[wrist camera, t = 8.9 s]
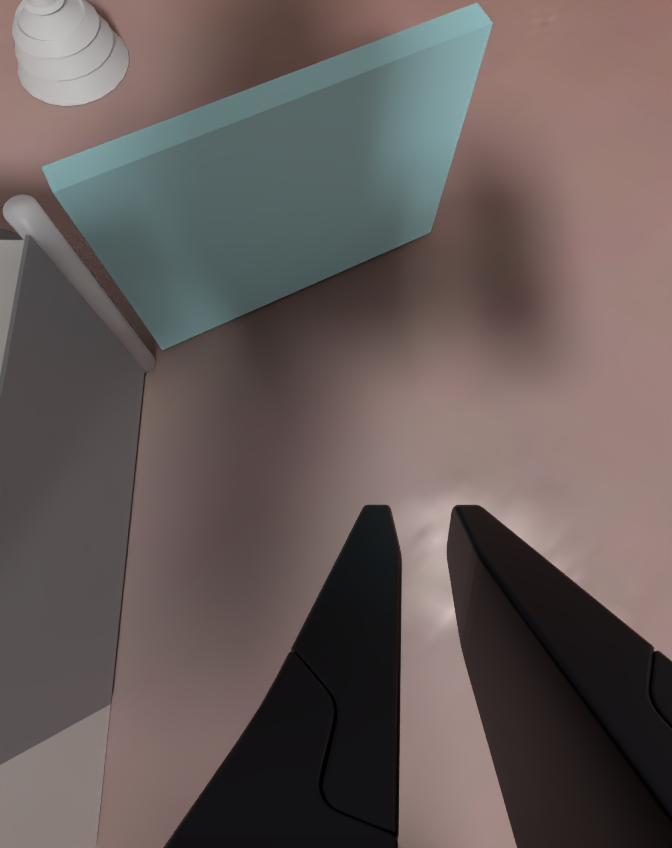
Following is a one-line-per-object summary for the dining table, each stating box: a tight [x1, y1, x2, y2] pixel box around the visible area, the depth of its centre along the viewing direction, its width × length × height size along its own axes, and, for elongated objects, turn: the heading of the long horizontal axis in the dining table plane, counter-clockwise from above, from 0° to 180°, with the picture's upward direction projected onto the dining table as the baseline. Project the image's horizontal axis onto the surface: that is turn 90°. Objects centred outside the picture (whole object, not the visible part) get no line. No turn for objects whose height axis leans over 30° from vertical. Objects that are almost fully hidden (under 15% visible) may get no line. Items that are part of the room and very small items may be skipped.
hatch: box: [42, 3, 493, 350], centre depth 18 cm, size 12×2×9 cm, turn 117°
